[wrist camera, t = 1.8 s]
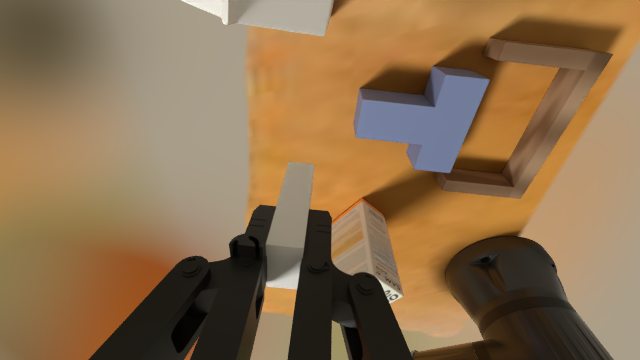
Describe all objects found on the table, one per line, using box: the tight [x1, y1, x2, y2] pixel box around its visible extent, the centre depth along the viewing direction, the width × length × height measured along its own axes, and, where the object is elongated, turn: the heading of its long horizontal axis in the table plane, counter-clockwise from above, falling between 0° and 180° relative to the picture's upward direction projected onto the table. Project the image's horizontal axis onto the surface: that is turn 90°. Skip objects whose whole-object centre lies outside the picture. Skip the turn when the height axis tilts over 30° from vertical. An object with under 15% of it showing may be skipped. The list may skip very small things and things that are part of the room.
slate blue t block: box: [354, 66, 490, 173], centre depth 29 cm, size 11×10×4 cm
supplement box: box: [331, 198, 404, 303], centre depth 34 cm, size 8×5×13 cm, turn 139°
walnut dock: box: [435, 38, 613, 199], centre depth 29 cm, size 16×10×3 cm, turn 175°
